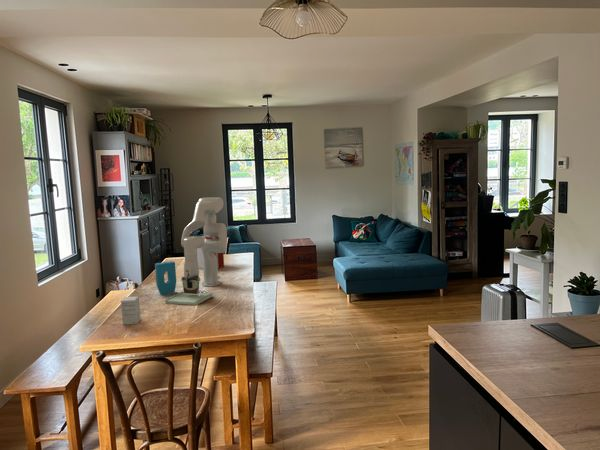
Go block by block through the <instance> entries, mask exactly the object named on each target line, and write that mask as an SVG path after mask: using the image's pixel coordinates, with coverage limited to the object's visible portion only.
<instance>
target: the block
mask: <svg viewBox="0 0 600 450" xmlns="http://www.w3.org/2000/svg"><path fill="white" fill-rule="evenodd" d="M154 268H155V270H154V271H155V283H156V288H157V290H158V292H159V294H160V296H165V295H171V294H175V293H176V292H175V291H176V286H177V270H176V261H164V262H157V263H154ZM166 273H167V280H165V274H166ZM165 281H166V282H165Z"/></svg>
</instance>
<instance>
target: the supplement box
mask: <svg viewBox="0 0 600 450" xmlns="http://www.w3.org/2000/svg"><path fill="white" fill-rule="evenodd" d="M120 307H121V309H120V310H121V318H122V325H136V324H138V323H139V322H140V321H141V308H140V297H139V296H138V295H137V296H125V297H124V298H123V299H121V300H120Z"/></svg>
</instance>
